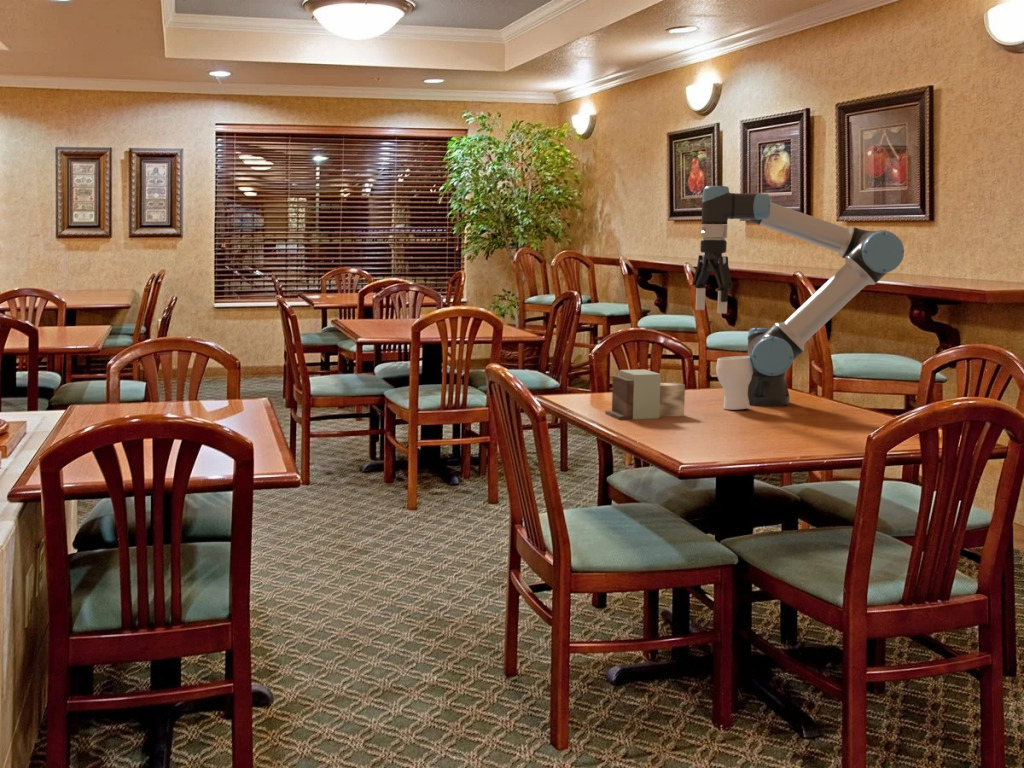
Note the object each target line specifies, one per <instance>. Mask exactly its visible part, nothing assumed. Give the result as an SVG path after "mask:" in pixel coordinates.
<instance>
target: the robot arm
mask: <svg viewBox="0 0 1024 768" xmlns="http://www.w3.org/2000/svg"><path fill="white" fill-rule="evenodd" d="M728 220H741V221H745V222H746V221H747V222H750V223H751V224H755V225H759V226H761V227H765V228H767V229H770V230H774V231H775V232H777V233H778V232H779V233H782V234H785V235H787V236H791V237H793V238H796V239H798V240H802V241H804V242H808V243H809V244H813V245H816V246H819V247H821V248H825V249H827V250H830V251H832V252H836V253H837V254H838V255H839V257H840V258H843V259H845V262H844V264H843V266H842V267H840V268H839V269H838V270H837V271H836V272H835V273H834V274H833V275H832V276H831V277H830V278H828V280H827V281H826V282H824V284H822V285H821V286H820V287H819V288H818V289H817V290H816V291H815V292H814V293H813V294H812V295H811V296H810V297H808V299H807V300H805V302H804V303H802V305H801V306H799V307H798V308H797V309H796V310H795V311H794V312H793V313H792V314H791V315H790V316H789V317H788V318H786V320H785V321H783V322H775V323H774V324H773V325H772V326H771V327H752V328H750V329H749V331H748V334H747V355H746V356H749V357H750V358H751V362H752V365H753V374H752V379H751V381H750V384H749V386H748V399H749V404H750V405H753V406H755V405H756V406H762V407H763V406H765V407H767V406H769V407H775V406H776V407H777V406H786V405H789V404H790V401H791V400H790V399H791V396H790V392H789V387H788V385H787V381H786V372H787V371H788V370H789V369H790V367H791V366H792V364H793V363H794V361H795V360H796V359H797V358H798V357H799V356H800V355H801V354H802V353H804V352H805V344H806V343H807V341H808V340H810V338H812V337H813V335H815V334H816V333H817V332H818V331H819V330H820V329H821V328H823V326H824V325H826V324H827V323H828V322H829V321H830V320H831V319H832V318H833V317H834V316H835V315H836V314H837V313H838V312H840V311H841V310H842V309H843V308H844V307H845V306H846V305H847V304H848V303H849V302H850V301H851V300H852V299H853V298H854V297H856V296H857V295H858V294H859V293H860V292H861V290H862V291H863V289H864V288H865V287H866V286H868V285H870V286H871V285H873V286H874V285H876V284H878V282H879V281H880V280H881V279H883V277H885V276H886V274H888V273H891V272H892V271H894V270H896V269H897V268H898V267H899V266H900V265H901V263H902V261H903V260H904V255H905V247H904V244H903V242H902V240H901V239H900V238H899V236H897V235H896V234H895V233H893V232H891V231H888V230H886V229H884V230H883V229H882V230H867V229H861V228H858V227H854V226H850V227H849V228H848V227H844V226H841V225H839V224H836V223H832V222H830V221H827V220H824V219H821V218H819V217H815V216H813V215H809V214H807V213H803V212H801V211H798V210H795V209H792V208H789V207H786V206H783V205H780V204H777V203H775V202H772V201H771V196H770V194H768V193H762V192H757V193H755V192H753V193H752V192H750V193H749V192H744V193H739V192H737V193H734V192H730V188H729V186H727V185H707V186H705V187H704V188H703V190H702V201H701V227H700V237H701V241H700V247H699V248H700V252H701V253H704V254H699V255H698V258H697V259H698V260H697V265H696V267H695V272H694V276H693V280H692V281H691V282H692V283H691V285H692V286H694V287H695V289H696V291H695V310H696V311H705V309H706V286H707V285H706V284H707V282H708V279H709V276H710V275H711V273H713V275H714V277H715V280H716V282H717V285H718V289H717V305H716V306H717V309H716V310H717V312H716V313H717V314H727V313H728V292H729V291H730V290H731V289H732V290H733V282H732V277H731V272H730V267H729V257H728V256H724V255H723V254H725V253H727V245H728V244H727V243H728V242H727V240H726V239H727V238H728Z"/></svg>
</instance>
